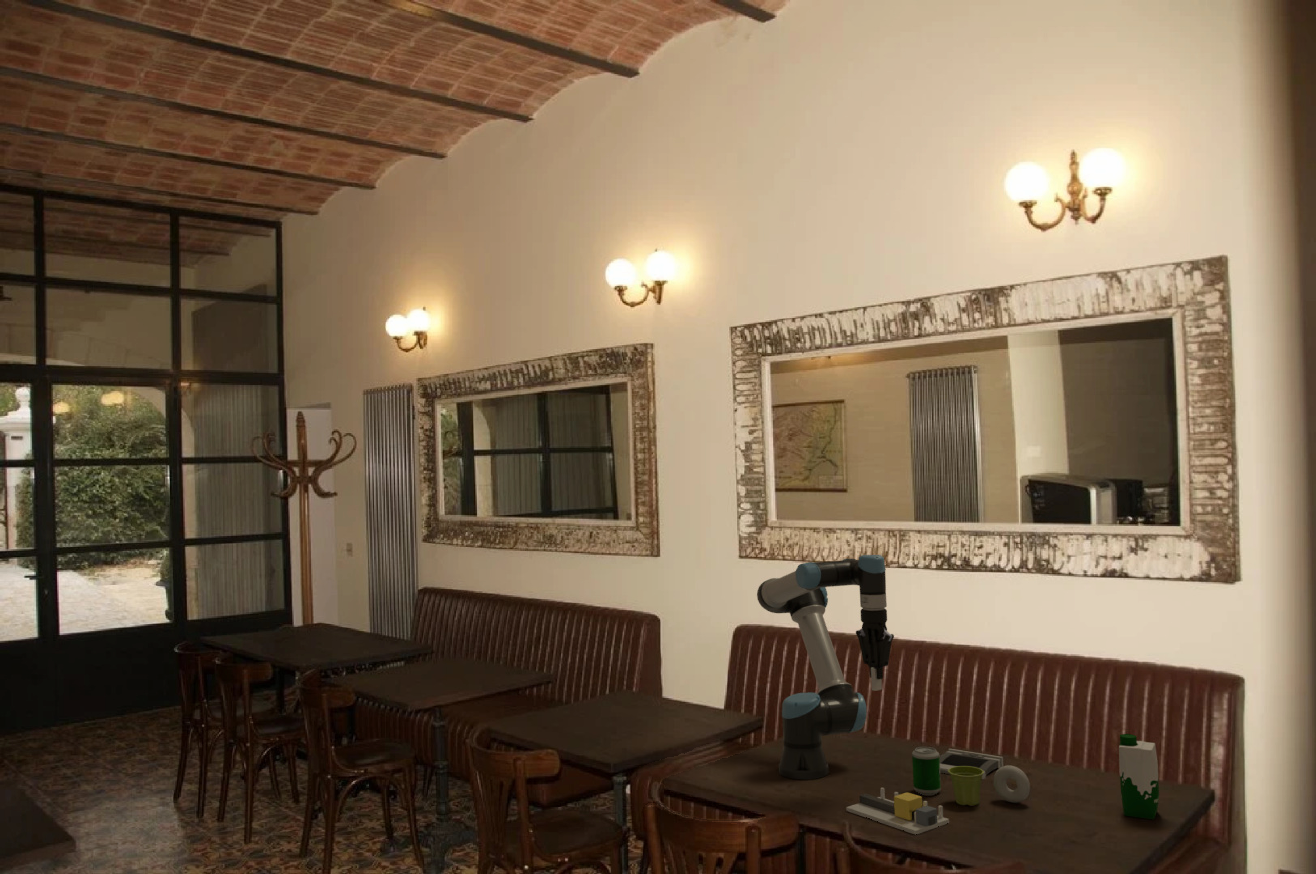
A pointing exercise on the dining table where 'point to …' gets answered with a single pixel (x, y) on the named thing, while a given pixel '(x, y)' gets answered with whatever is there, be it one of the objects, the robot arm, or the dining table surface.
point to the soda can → (926, 770)
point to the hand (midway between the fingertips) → (876, 689)
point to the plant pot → (966, 784)
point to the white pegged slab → (885, 814)
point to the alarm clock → (969, 761)
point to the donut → (1020, 779)
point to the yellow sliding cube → (906, 805)
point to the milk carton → (1138, 777)
